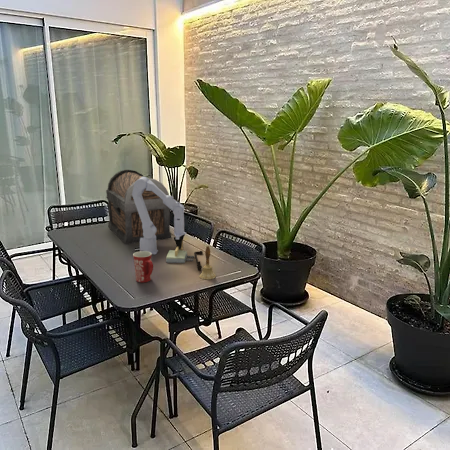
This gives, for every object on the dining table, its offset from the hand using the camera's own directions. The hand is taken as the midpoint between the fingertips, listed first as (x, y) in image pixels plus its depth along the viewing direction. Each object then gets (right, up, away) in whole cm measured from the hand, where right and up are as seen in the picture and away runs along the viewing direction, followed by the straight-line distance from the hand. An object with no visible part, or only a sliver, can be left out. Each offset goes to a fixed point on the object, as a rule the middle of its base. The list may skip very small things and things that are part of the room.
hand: (179, 247), depth 243 cm
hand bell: (+18, -13, -32) cm, 39 cm away
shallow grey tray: (0, -6, -9) cm, 11 cm away
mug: (-12, -14, -39) cm, 44 cm away
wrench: (+13, -8, -13) cm, 20 cm away
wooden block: (0, -2, +1) cm, 2 cm away
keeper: (+7, -6, -9) cm, 13 cm away
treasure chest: (-32, +8, +41) cm, 53 cm away
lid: (0, -4, -9) cm, 10 cm away
